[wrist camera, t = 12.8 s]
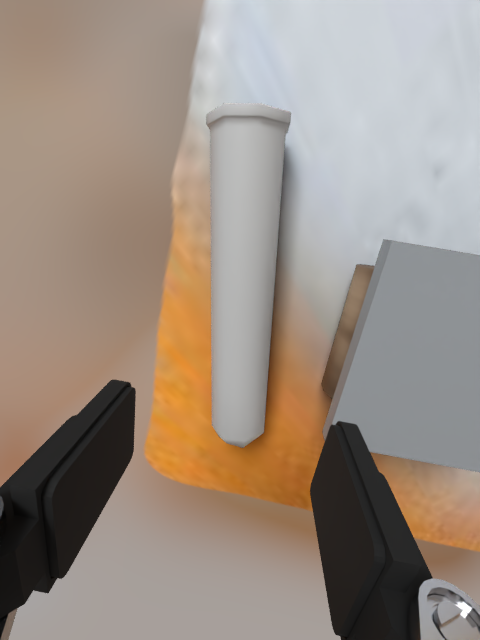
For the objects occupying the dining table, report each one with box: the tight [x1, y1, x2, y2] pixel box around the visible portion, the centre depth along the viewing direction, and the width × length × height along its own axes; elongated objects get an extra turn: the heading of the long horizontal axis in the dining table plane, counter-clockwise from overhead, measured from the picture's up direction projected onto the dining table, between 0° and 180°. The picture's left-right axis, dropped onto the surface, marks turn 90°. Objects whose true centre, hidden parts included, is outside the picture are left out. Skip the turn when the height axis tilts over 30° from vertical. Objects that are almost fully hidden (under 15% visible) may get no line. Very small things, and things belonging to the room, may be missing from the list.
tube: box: [206, 103, 291, 448], centre depth 22 cm, size 5×5×25 cm
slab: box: [322, 239, 480, 472], centre depth 18 cm, size 12×14×1 cm
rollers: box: [322, 264, 375, 399], centre depth 21 cm, size 12×10×5 cm
